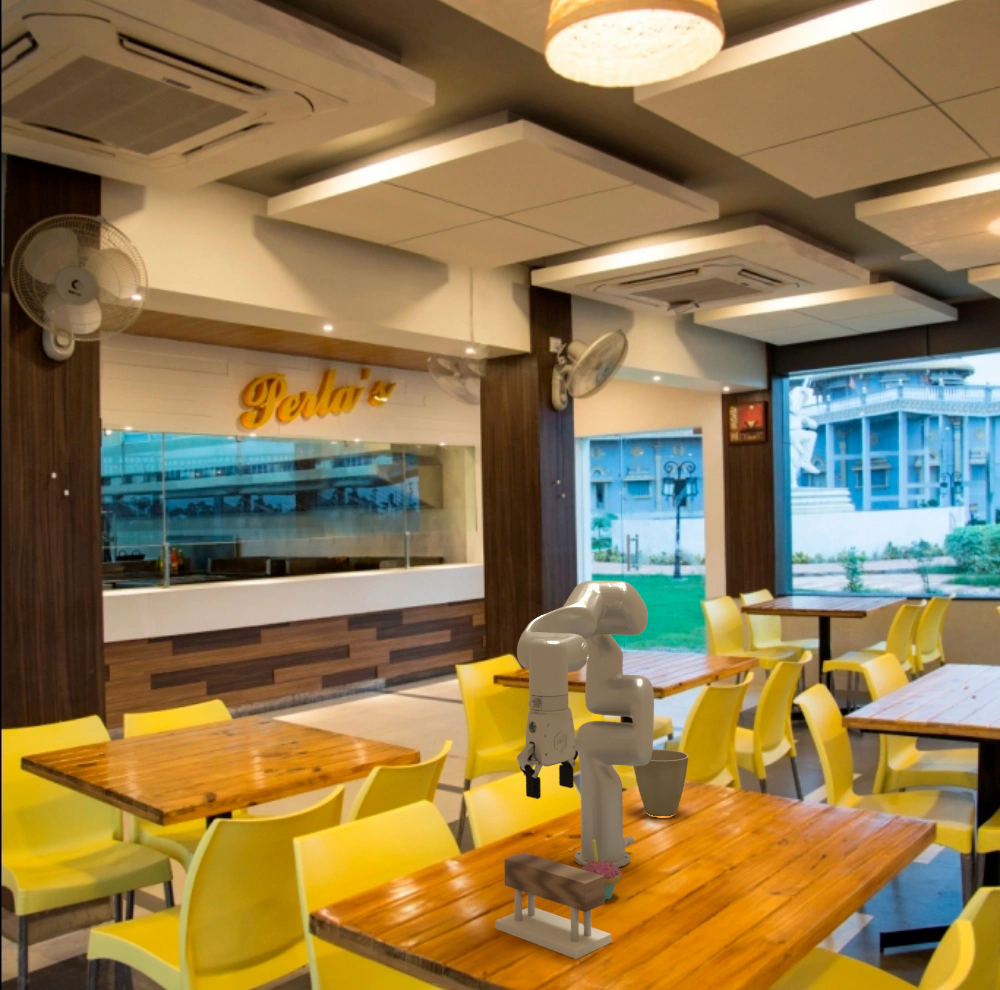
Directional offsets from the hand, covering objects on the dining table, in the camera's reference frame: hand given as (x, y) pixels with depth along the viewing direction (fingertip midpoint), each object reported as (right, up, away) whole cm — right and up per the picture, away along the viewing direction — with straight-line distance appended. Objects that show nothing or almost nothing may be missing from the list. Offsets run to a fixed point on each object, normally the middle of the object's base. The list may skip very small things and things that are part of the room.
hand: (550, 791), depth 192 cm
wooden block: (0, -18, -5) cm, 18 cm away
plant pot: (+33, -28, +74) cm, 86 cm away
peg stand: (0, -25, -6) cm, 26 cm away
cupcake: (+11, -26, +14) cm, 32 cm away
